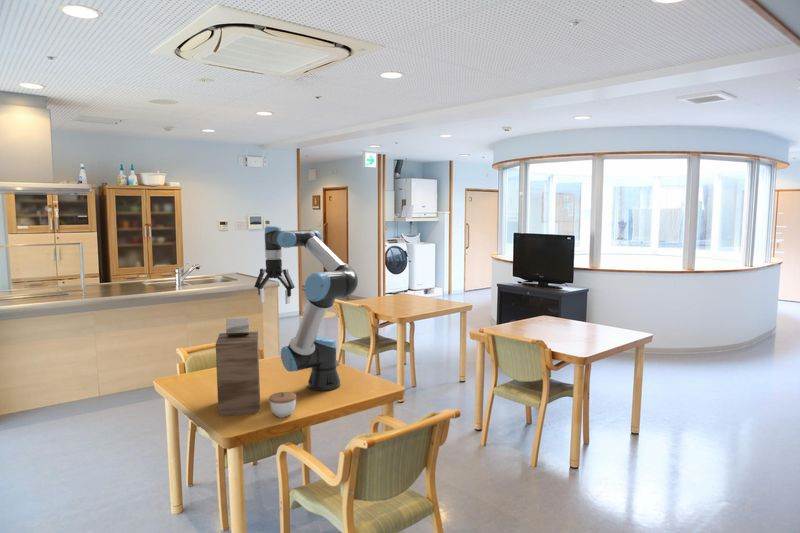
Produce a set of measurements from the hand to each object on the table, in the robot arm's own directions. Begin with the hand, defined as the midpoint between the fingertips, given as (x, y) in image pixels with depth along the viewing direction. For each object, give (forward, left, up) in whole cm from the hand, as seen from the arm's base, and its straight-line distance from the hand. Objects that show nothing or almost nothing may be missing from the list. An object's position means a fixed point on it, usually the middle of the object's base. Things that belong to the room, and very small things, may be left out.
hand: (274, 302), depth 262 cm
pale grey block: (+4, +24, -12) cm, 27 cm away
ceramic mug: (-13, -32, -39) cm, 52 cm away
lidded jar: (-24, +38, -39) cm, 59 cm away
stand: (-2, +35, -39) cm, 52 cm away
